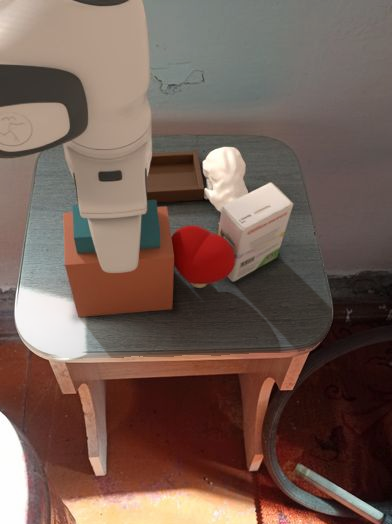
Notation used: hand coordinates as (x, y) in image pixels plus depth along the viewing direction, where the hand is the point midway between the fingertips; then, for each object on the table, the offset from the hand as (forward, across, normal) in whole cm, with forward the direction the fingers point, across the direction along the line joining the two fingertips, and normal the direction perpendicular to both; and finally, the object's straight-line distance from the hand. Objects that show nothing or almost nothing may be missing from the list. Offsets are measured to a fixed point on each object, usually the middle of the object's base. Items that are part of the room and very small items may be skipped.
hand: (117, 230), depth 68 cm
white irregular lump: (+13, -13, +17) cm, 25 cm away
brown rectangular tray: (+13, -20, +7) cm, 24 cm away
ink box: (+13, -4, +18) cm, 23 cm away
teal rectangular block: (+1, 0, 0) cm, 1 cm away
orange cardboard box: (+13, 0, 0) cm, 13 cm away
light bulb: (+13, 0, +11) cm, 17 cm away
